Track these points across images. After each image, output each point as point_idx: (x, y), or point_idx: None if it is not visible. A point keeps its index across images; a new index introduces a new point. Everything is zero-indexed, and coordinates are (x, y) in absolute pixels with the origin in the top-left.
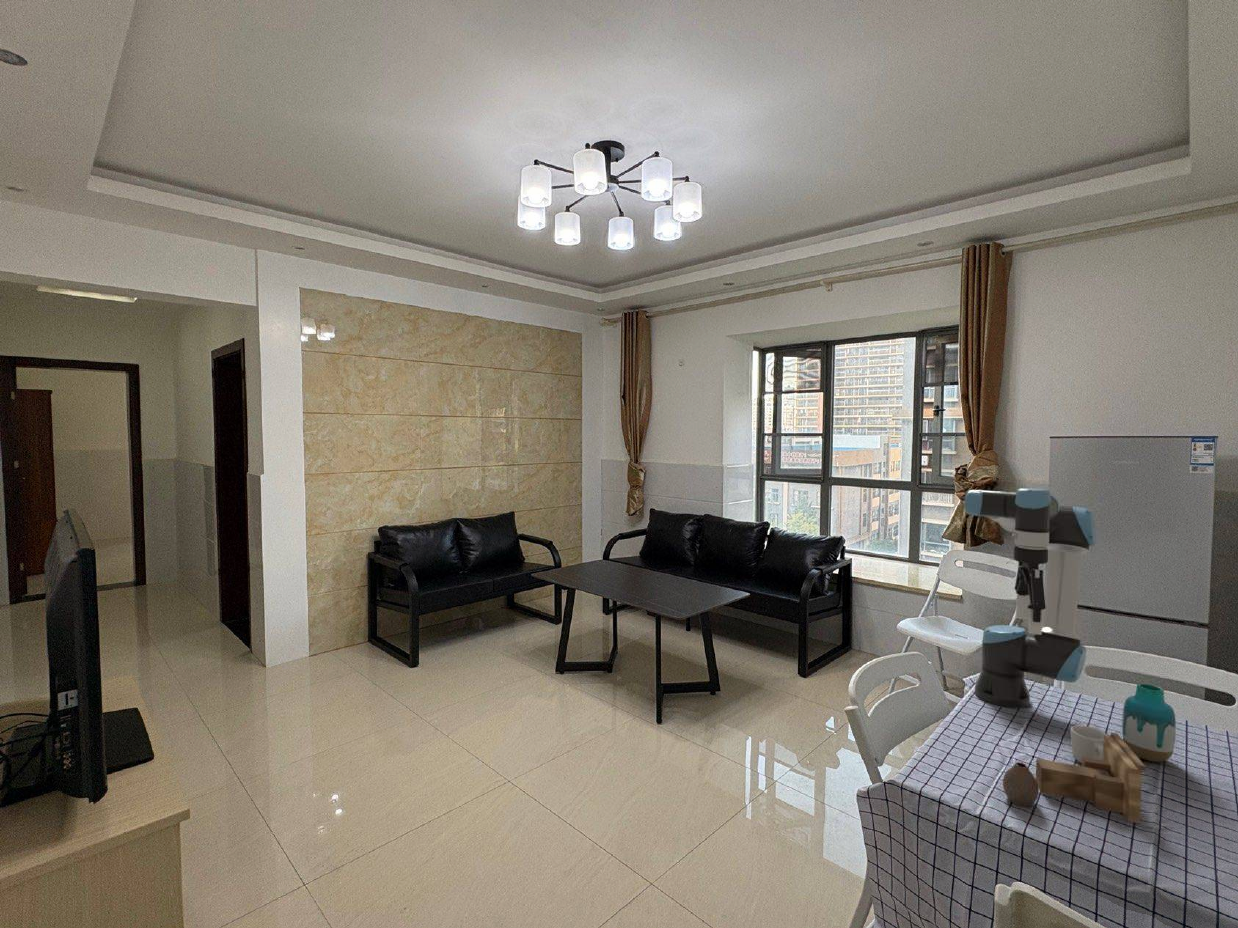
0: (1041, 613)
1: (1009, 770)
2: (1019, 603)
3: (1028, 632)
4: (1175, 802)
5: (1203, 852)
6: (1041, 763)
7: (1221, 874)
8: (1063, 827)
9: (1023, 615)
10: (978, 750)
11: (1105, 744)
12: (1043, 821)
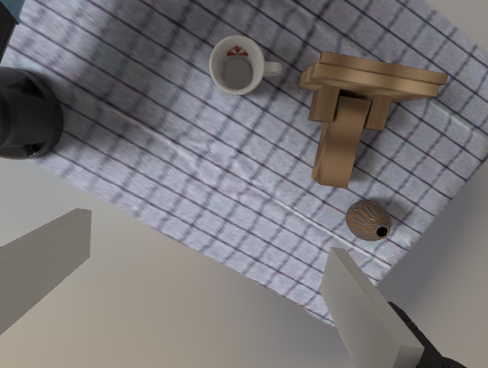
0: (403, 328)
1: (372, 239)
2: (27, 298)
3: (321, 290)
4: (333, 6)
5: (441, 47)
6: (333, 183)
7: (479, 54)
8: (406, 187)
9: (78, 237)
10: (239, 219)
11: (322, 79)
12: (397, 204)
